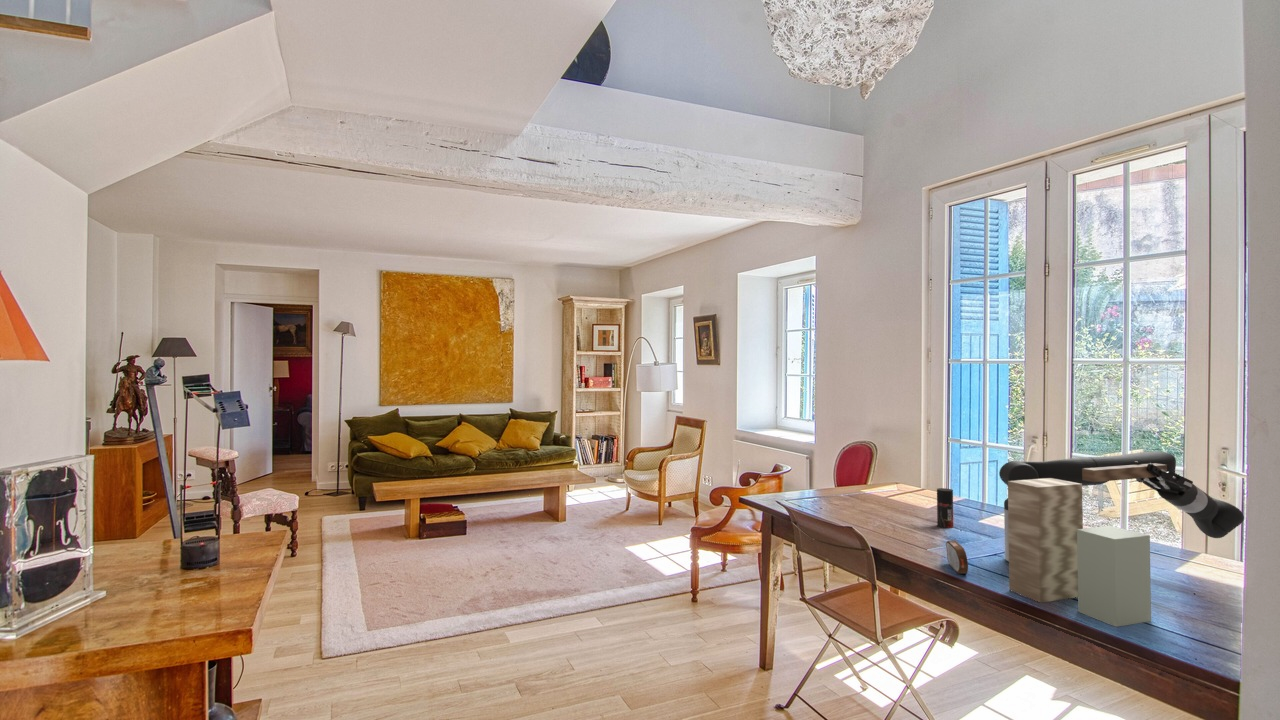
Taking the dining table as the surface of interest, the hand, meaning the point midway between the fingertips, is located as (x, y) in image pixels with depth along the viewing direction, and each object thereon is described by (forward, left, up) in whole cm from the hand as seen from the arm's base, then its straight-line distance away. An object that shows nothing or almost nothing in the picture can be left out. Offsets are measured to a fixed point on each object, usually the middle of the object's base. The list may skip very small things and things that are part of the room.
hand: (1141, 465), depth 166 cm
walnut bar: (+6, 0, -3) cm, 7 cm away
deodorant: (-15, -88, -39) cm, 98 cm away
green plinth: (+11, 0, -39) cm, 40 cm away
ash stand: (+13, -18, -39) cm, 45 cm away
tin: (+21, -43, -39) cm, 62 cm away
